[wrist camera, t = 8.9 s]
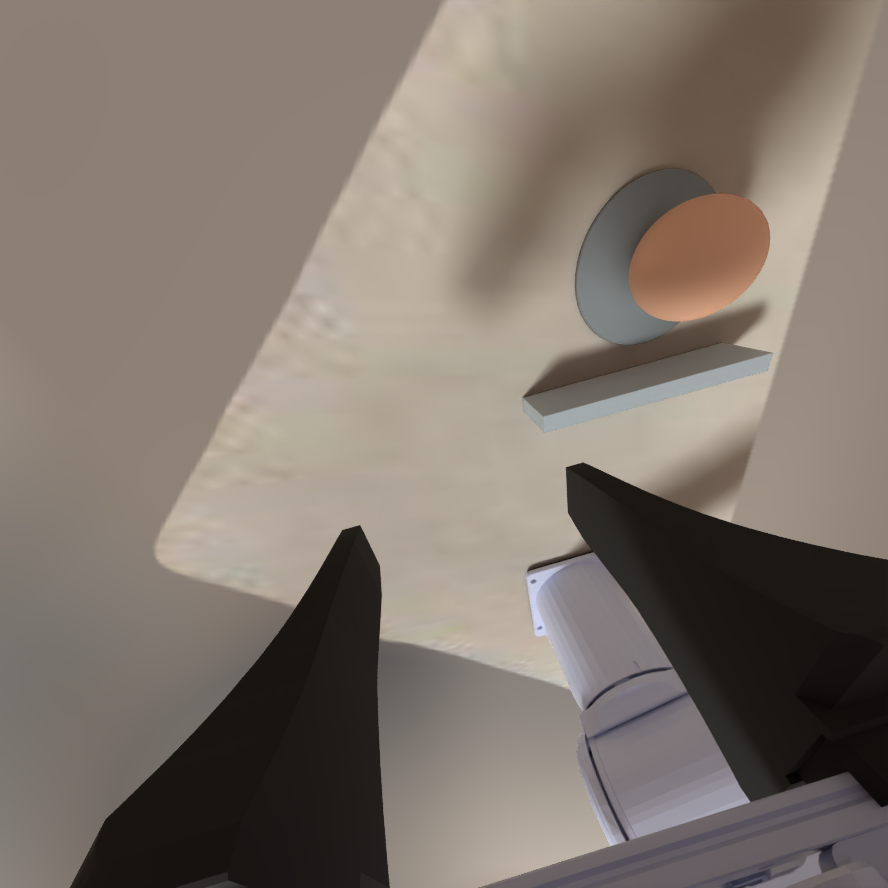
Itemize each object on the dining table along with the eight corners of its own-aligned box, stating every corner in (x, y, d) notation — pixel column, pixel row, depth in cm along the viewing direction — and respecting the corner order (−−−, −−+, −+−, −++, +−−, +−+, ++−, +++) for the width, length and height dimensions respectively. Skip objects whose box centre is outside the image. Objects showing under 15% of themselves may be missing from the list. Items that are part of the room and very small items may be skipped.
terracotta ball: (687, 304, 18) (787, 309, 14) (605, 327, 18) (681, 340, 13) (700, 197, 16) (826, 161, 11) (607, 221, 15) (699, 195, 11)
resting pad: (703, 324, 19) (708, 324, 19) (576, 358, 19) (579, 360, 19) (732, 151, 15) (739, 149, 15) (573, 193, 15) (576, 191, 15)
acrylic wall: (719, 358, 20) (767, 370, 18) (524, 412, 20) (544, 433, 17) (722, 342, 20) (772, 352, 17) (522, 397, 20) (543, 416, 17)
